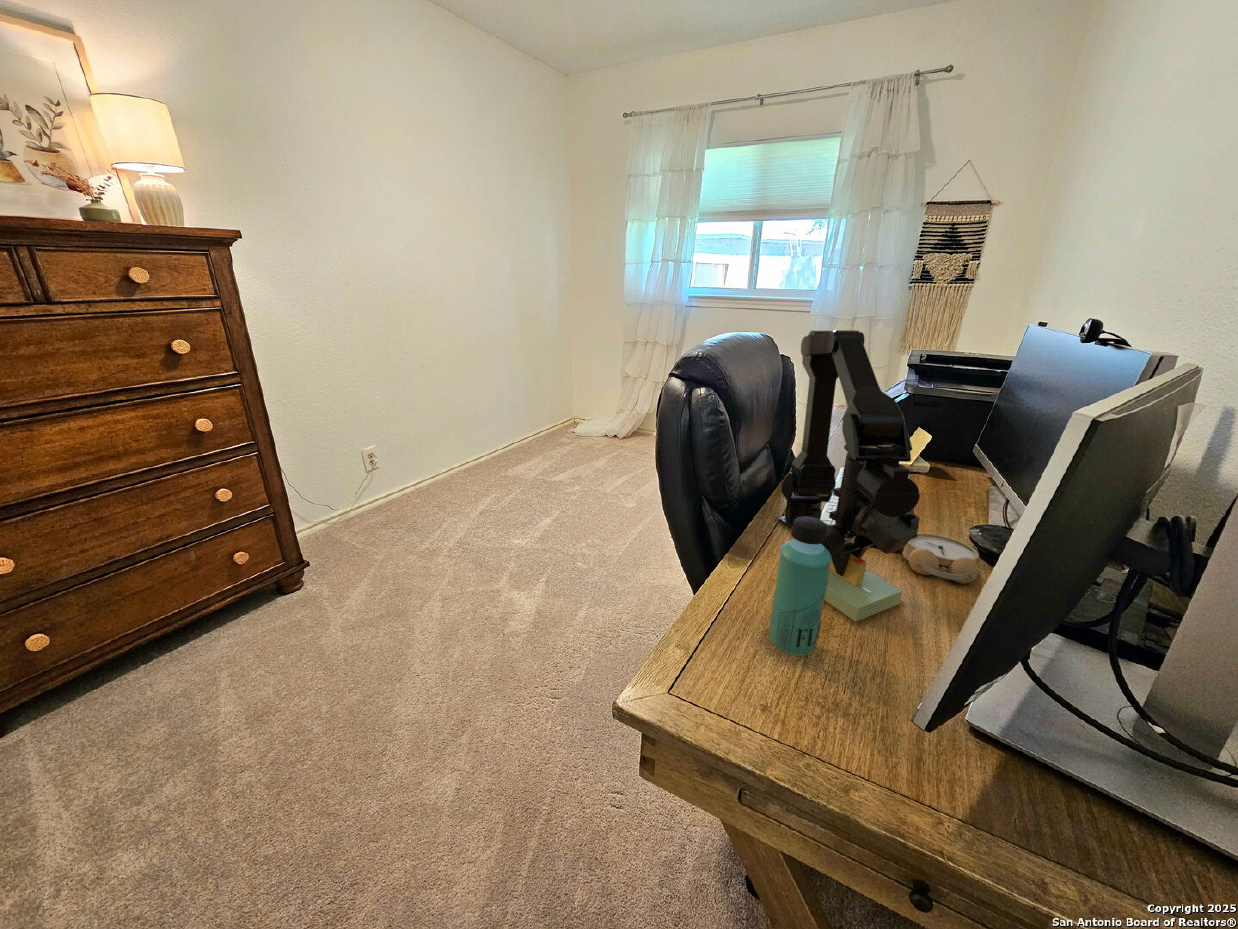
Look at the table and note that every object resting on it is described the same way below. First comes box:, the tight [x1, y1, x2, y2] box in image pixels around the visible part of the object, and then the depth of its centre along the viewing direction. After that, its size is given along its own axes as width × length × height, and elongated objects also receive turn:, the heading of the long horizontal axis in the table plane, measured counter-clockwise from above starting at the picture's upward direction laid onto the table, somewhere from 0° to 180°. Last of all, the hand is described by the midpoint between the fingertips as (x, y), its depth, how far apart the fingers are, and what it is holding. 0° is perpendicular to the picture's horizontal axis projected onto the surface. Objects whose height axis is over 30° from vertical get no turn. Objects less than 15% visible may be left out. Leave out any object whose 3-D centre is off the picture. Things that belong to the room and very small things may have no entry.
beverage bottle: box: [768, 516, 831, 657], centre depth 64 cm, size 6×7×20 cm
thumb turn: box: [829, 554, 868, 586], centre depth 79 cm, size 6×2×4 cm, turn 26°
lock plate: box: [824, 569, 903, 623], centre depth 80 cm, size 14×10×3 cm
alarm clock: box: [902, 532, 980, 585], centre depth 86 cm, size 11×5×15 cm
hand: (843, 573), depth 80 cm, fingers closed on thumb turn, 2 cm apart
